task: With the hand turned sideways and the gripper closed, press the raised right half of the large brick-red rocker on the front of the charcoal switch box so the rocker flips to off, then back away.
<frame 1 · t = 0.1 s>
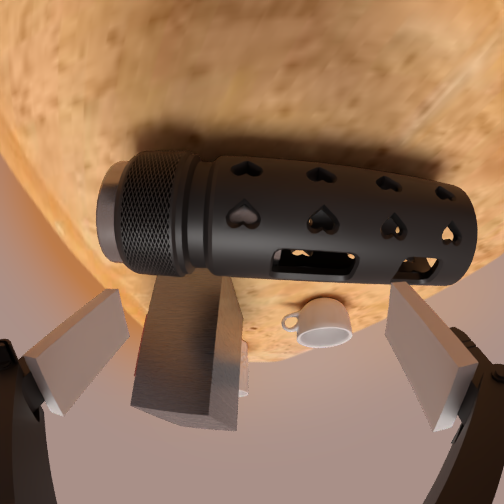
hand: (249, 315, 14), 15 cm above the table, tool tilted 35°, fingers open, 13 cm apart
white cup: (230, 342, 57), on the table
teacup: (315, 303, 44), on the table
muzzle brake: (292, 174, 26), on the table
rocker: (147, 357, 37), point 10 cm above the table, hinge at -20.0°
switch box: (206, 293, 42), on the table
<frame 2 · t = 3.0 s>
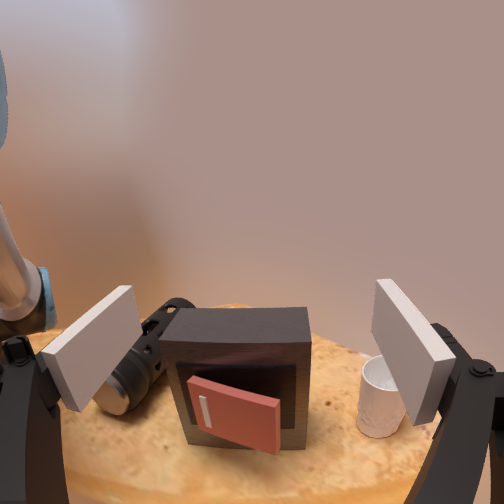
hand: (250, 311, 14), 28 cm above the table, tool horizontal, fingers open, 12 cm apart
white cup: (377, 423, 36), on the table
muzzle brake: (155, 374, 52), on the table
rocker: (234, 417, 29), point 10 cm above the table, hinge at -20.0°
switch box: (248, 428, 38), on the table
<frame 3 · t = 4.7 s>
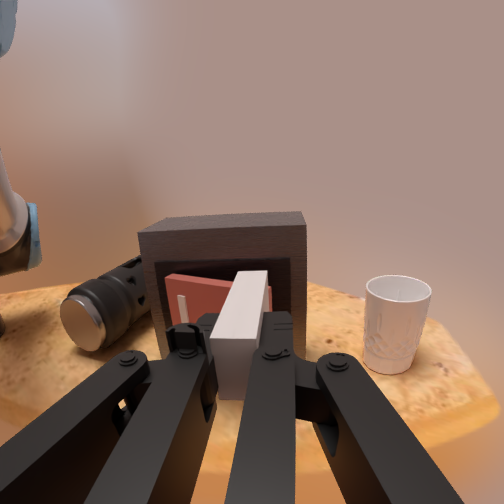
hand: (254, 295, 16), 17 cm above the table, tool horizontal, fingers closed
white cup: (387, 360, 34), on the table
muzzle brake: (140, 319, 50), on the table
rocker: (217, 324, 27), point 10 cm above the table, hinge at -20.0°
switch box: (237, 365, 36), on the table
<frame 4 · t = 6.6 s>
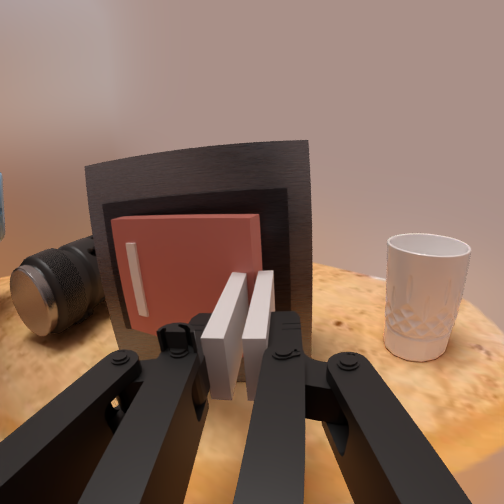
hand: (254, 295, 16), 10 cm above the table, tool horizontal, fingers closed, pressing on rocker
white cup: (414, 344, 26), on the table
muzzle brake: (108, 302, 41), on the table
rocker: (181, 283, 18), point 10 cm above the table, hinge at -19.2°, touching gripper
switch box: (219, 354, 27), on the table
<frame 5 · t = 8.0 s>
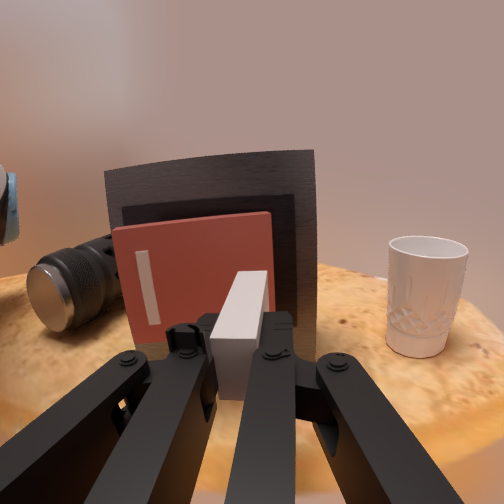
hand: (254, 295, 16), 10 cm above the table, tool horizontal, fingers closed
white cup: (415, 342, 27), on the table
muzzle brake: (121, 300, 43), on the table
rocker: (197, 281, 20), point 10 cm above the table, hinge at 16.5°
switch box: (229, 349, 29), on the table
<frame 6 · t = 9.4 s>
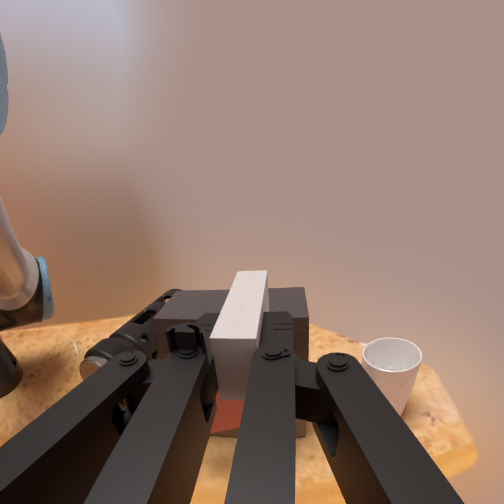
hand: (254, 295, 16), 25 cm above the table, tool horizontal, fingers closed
white cup: (380, 410, 36), on the table
muzzle brake: (152, 365, 52), on the table
rocker: (230, 399, 29), point 10 cm above the table, hinge at 22.9°
switch box: (246, 417, 38), on the table
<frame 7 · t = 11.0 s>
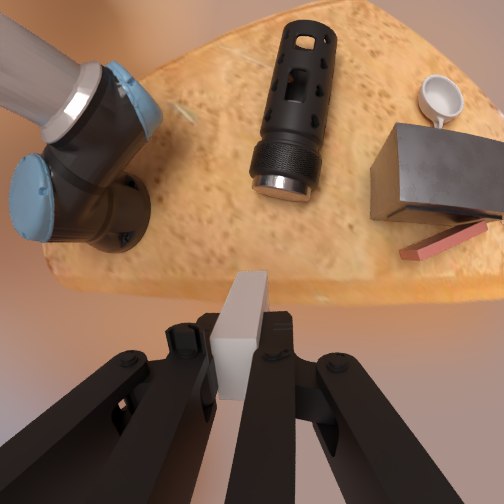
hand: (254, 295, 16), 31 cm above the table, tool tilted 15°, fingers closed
teacup: (433, 114, 40), on the table
muzzle brake: (300, 119, 46), on the table
rocker: (442, 241, 32), point 10 cm above the table, hinge at 23.7°
switch box: (418, 197, 41), on the table
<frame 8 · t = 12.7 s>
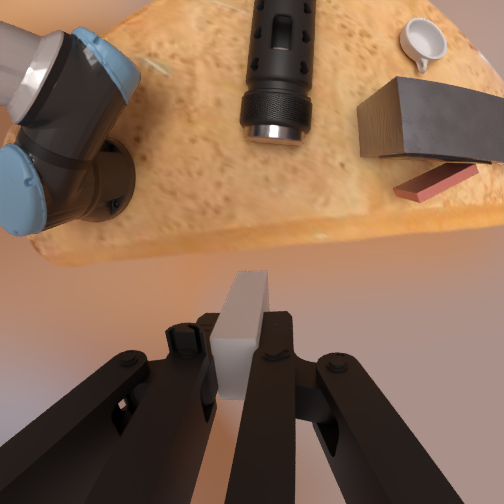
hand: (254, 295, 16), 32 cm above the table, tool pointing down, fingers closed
teacup: (414, 53, 37), on the table
muzzle brake: (281, 62, 41), on the table
rocker: (435, 180, 34), point 10 cm above the table, hinge at 23.8°
switch box: (405, 134, 41), on the table
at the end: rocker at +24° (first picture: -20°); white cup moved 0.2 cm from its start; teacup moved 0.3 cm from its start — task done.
